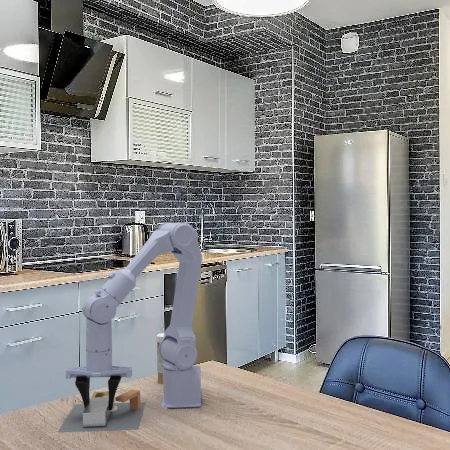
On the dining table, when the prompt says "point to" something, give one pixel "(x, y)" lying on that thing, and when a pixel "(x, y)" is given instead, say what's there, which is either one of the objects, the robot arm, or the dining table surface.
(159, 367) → the sprinkles bottle
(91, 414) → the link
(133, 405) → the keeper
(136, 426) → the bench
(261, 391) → the dining table surface
